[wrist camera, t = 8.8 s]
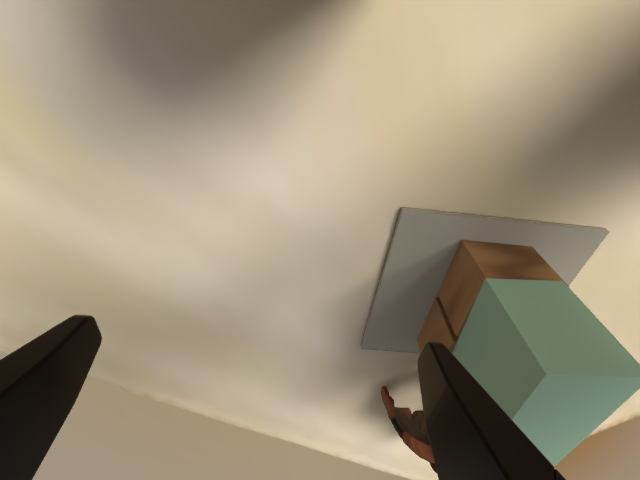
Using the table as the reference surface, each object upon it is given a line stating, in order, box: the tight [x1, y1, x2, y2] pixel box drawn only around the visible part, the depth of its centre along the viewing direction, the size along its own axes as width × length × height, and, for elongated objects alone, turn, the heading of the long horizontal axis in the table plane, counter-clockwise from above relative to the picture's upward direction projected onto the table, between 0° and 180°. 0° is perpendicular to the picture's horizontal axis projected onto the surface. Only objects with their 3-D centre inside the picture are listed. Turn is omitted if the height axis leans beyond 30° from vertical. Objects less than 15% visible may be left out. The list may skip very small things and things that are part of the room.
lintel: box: [452, 278, 640, 466], centre depth 19 cm, size 11×4×6 cm, turn 177°
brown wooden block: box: [417, 298, 459, 353], centre depth 25 cm, size 5×5×4 cm
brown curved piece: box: [381, 387, 437, 473], centre depth 31 cm, size 12×10×8 cm
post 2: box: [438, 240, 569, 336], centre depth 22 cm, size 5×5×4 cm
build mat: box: [361, 207, 609, 353], centre depth 25 cm, size 14×14×1 cm
